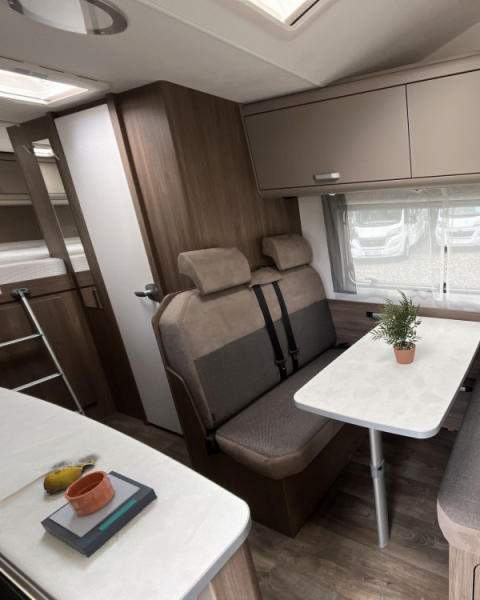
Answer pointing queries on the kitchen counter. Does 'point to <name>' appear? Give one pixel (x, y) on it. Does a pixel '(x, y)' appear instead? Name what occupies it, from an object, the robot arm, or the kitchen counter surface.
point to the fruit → (63, 477)
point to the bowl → (89, 493)
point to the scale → (100, 516)
